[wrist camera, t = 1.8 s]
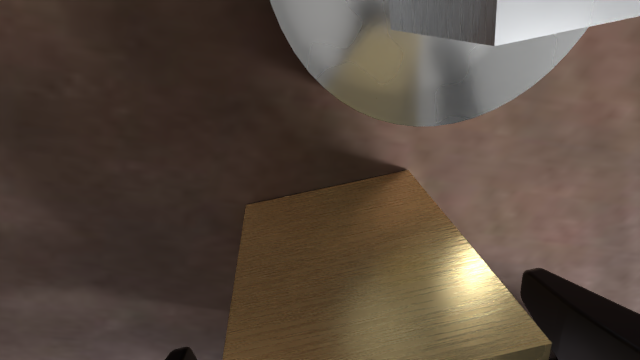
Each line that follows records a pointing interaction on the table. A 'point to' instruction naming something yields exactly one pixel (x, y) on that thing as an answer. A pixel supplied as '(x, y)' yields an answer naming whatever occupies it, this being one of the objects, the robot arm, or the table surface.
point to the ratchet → (436, 50)
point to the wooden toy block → (369, 282)
